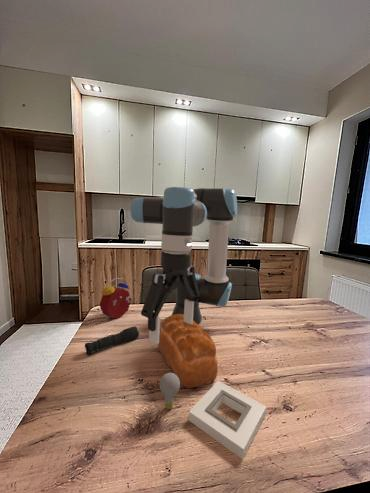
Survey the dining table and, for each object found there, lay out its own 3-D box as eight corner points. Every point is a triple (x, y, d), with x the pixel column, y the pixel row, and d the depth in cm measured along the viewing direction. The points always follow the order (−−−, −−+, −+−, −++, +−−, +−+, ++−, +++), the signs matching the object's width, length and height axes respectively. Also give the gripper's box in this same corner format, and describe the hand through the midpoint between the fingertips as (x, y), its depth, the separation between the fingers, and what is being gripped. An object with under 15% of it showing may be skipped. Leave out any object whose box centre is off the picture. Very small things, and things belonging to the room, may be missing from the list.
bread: (183, 393, 70) (186, 345, 67) (154, 346, 93) (155, 309, 91) (221, 380, 76) (225, 336, 74) (185, 339, 99) (187, 305, 97)
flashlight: (139, 339, 98) (139, 328, 97) (89, 358, 84) (89, 346, 83) (133, 334, 101) (133, 324, 100) (84, 352, 87) (83, 340, 86)
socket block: (188, 420, 61) (189, 410, 60) (217, 388, 72) (218, 379, 72) (242, 459, 52) (243, 447, 51) (265, 415, 63) (266, 405, 63)
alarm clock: (123, 310, 125) (123, 273, 122) (134, 314, 120) (135, 277, 117) (99, 319, 113) (99, 279, 110) (110, 325, 108) (110, 283, 105)
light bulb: (159, 400, 67) (160, 368, 65) (178, 399, 67) (179, 368, 66) (158, 416, 61) (159, 382, 60) (179, 416, 62) (181, 382, 60)
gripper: (150, 260, 46) (147, 359, 49) (214, 249, 65) (209, 320, 68) (126, 254, 50) (124, 345, 53) (193, 245, 70) (189, 312, 73)
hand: (172, 331), depth 61 cm, fingers open, 13 cm apart
